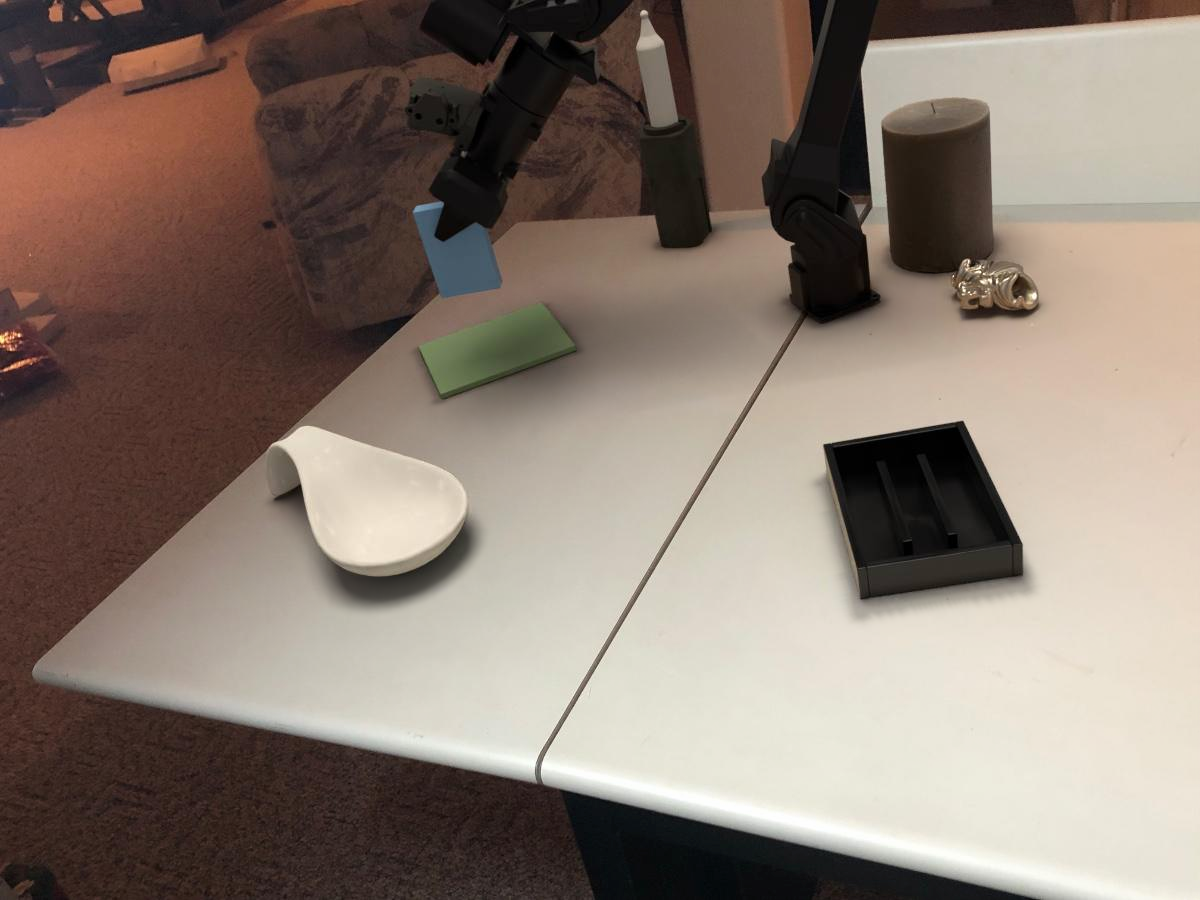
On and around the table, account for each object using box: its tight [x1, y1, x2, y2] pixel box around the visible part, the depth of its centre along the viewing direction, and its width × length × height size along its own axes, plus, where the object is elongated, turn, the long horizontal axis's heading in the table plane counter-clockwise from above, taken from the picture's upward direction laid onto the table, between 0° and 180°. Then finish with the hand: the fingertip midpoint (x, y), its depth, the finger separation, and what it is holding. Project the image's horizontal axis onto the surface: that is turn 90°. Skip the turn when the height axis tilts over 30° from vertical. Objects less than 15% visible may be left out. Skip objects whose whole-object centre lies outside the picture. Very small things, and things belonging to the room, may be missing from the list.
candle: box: [635, 9, 713, 248], centre depth 116 cm, size 5×5×25 cm
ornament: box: [950, 259, 1040, 312], centre depth 95 cm, size 8×7×4 cm
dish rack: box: [822, 420, 1024, 600], centre depth 73 cm, size 14×10×4 cm
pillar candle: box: [880, 96, 994, 273], centre depth 103 cm, size 10×10×15 cm
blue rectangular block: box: [412, 201, 503, 299], centre depth 103 cm, size 6×2×9 cm, turn 86°
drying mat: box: [418, 301, 577, 400], centre depth 110 cm, size 14×12×1 cm
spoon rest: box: [264, 425, 470, 577], centre depth 87 cm, size 24×12×7 cm, turn 46°
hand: (440, 234), depth 102 cm, fingers closed on blue rectangular block, 2 cm apart
